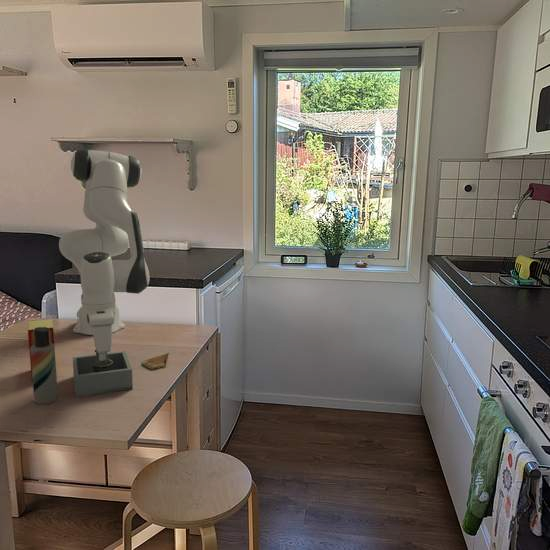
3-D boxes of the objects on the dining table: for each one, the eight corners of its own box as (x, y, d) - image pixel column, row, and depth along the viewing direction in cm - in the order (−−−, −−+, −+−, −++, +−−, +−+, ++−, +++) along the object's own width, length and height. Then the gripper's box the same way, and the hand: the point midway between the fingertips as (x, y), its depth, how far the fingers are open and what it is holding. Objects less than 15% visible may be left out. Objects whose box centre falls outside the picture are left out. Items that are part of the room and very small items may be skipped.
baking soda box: (32, 369, 149) (28, 319, 145) (55, 366, 151) (52, 317, 148) (31, 381, 140) (27, 329, 137) (56, 378, 143) (53, 326, 140)
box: (73, 376, 145) (72, 357, 144) (125, 369, 151) (125, 351, 150) (75, 397, 131) (74, 376, 130) (132, 389, 137) (132, 369, 136)
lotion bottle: (39, 394, 132) (34, 324, 128) (61, 394, 133) (56, 324, 129) (30, 404, 127) (24, 331, 123) (53, 404, 127) (48, 331, 123)
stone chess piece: (90, 372, 142) (88, 333, 139) (111, 369, 145) (109, 330, 142) (93, 380, 137) (91, 339, 134) (115, 376, 140) (113, 336, 137)
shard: (168, 356, 163) (168, 351, 163) (182, 363, 158) (182, 358, 158) (140, 365, 155) (140, 360, 155) (154, 372, 150) (154, 367, 150)
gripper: (85, 302, 145) (87, 346, 148) (89, 322, 127) (92, 371, 129) (107, 300, 147) (109, 343, 150) (114, 319, 129) (117, 368, 132)
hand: (101, 356), depth 140 cm, fingers closed on stone chess piece, 3 cm apart
